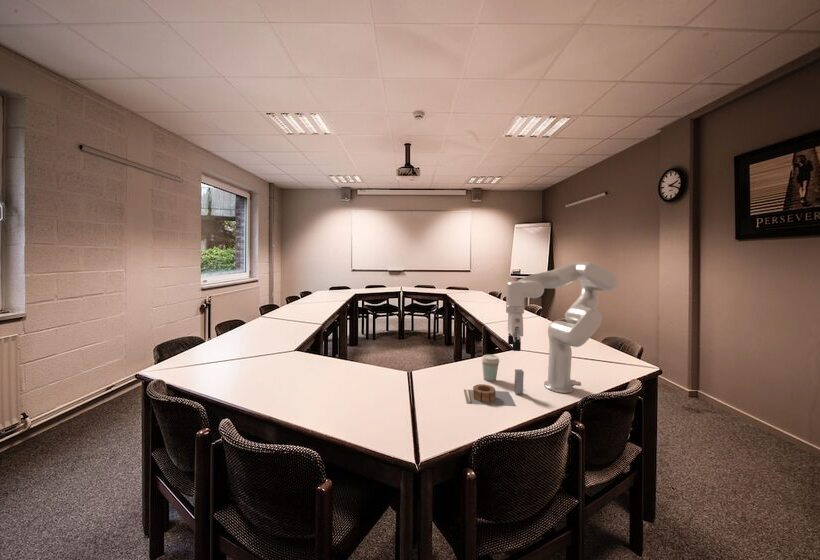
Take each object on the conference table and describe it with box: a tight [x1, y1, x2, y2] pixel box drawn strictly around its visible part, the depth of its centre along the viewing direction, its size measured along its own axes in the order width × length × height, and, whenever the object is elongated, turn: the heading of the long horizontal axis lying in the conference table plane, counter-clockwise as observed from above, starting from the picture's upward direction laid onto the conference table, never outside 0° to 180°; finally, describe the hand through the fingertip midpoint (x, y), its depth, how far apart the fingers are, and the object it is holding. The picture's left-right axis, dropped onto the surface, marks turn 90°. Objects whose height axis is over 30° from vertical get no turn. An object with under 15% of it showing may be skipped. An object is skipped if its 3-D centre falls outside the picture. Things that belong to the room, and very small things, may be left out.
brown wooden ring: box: [472, 383, 497, 403], centre depth 137 cm, size 9×9×4 cm
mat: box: [463, 388, 517, 407], centre depth 138 cm, size 20×14×1 cm
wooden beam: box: [513, 368, 525, 396], centre depth 142 cm, size 3×3×11 cm
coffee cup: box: [481, 354, 500, 383], centre depth 158 cm, size 8×8×12 cm
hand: (514, 347), depth 142 cm, fingers open, 9 cm apart
